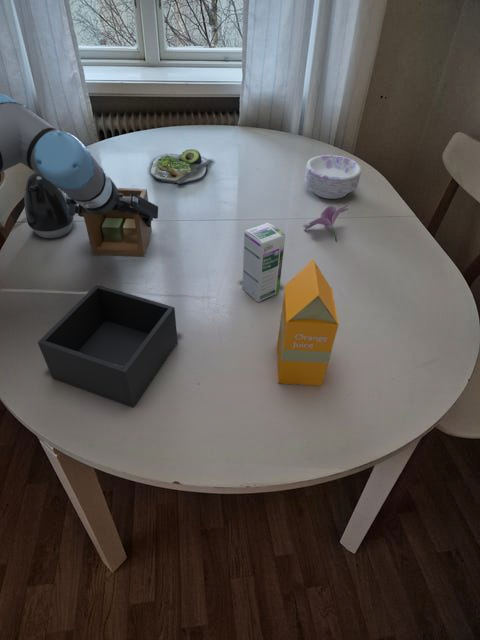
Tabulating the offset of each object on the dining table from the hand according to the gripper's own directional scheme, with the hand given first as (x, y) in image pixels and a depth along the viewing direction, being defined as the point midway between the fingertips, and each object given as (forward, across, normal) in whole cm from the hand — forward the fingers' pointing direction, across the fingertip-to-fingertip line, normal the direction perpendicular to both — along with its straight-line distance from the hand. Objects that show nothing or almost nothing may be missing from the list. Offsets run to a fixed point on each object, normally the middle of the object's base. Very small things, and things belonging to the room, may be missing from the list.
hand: (123, 220), depth 100 cm
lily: (+8, +49, 0) cm, 50 cm away
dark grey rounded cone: (+5, -18, -3) cm, 19 cm away
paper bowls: (+25, +53, +17) cm, 61 cm away
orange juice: (-23, +38, -31) cm, 54 cm away
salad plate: (+31, +9, +24) cm, 40 cm away
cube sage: (+3, -2, -4) cm, 5 cm away
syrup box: (-8, +32, -16) cm, 37 cm away
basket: (-23, +6, -31) cm, 39 cm away
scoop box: (+2, 0, -6) cm, 6 cm away
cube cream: (+3, +2, -4) cm, 5 cm away
